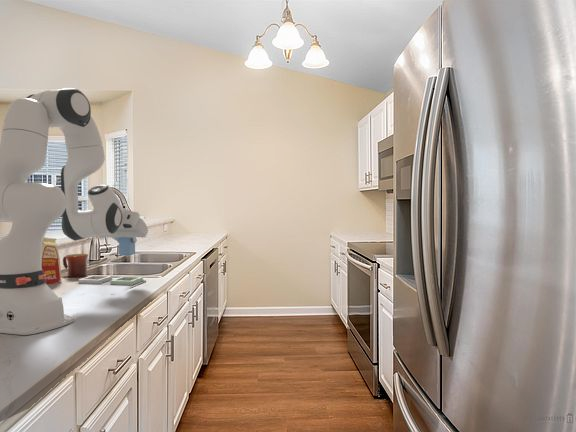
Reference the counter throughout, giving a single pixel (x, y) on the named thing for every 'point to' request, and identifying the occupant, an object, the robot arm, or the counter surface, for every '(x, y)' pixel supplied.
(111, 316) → the counter surface
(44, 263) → the red sauce bottle
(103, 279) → the panel
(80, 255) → the mug
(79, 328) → the counter surface
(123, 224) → the robot arm
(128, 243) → the light blue block
